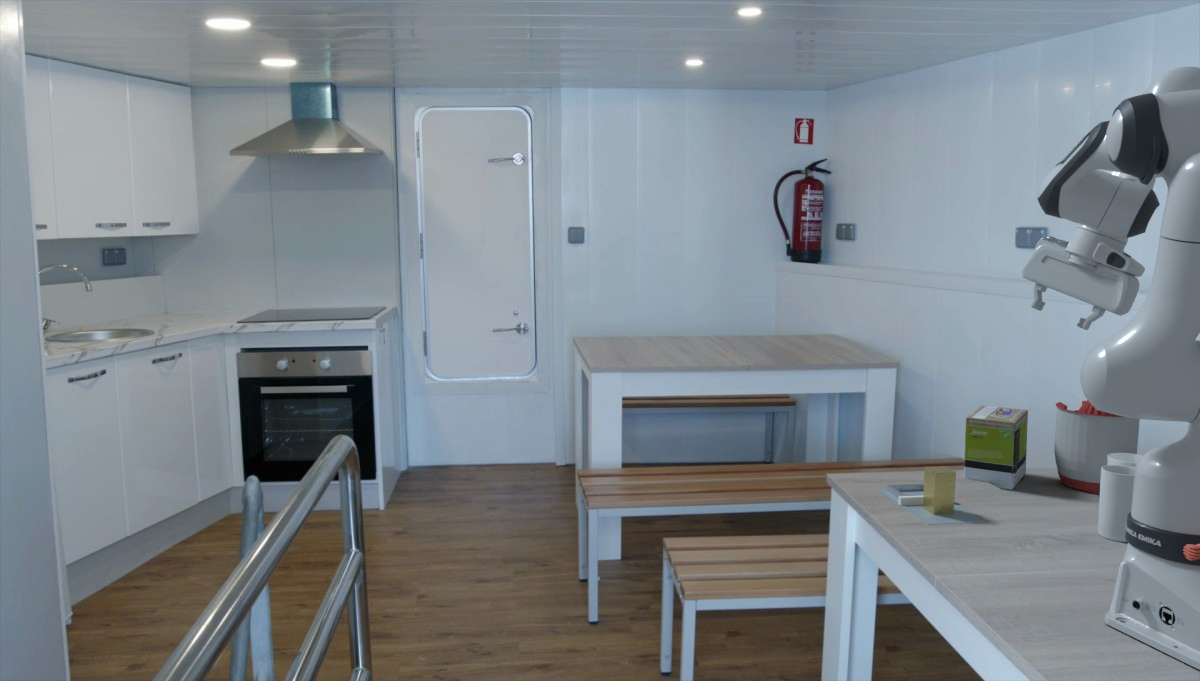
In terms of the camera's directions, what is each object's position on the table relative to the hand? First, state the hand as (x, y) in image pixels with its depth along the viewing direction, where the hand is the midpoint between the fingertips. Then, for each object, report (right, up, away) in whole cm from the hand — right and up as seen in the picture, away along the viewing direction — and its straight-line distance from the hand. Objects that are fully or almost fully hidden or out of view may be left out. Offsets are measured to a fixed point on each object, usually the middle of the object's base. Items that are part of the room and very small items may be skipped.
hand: (1058, 318), depth 165 cm
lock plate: (-24, -37, +3) cm, 44 cm away
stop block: (-23, -36, -1) cm, 43 cm away
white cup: (+15, -37, +4) cm, 40 cm away
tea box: (-1, -34, +23) cm, 42 cm away
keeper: (-25, -36, +8) cm, 44 cm away
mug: (+5, -39, -11) cm, 40 cm away
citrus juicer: (+16, -35, +19) cm, 43 cm away
